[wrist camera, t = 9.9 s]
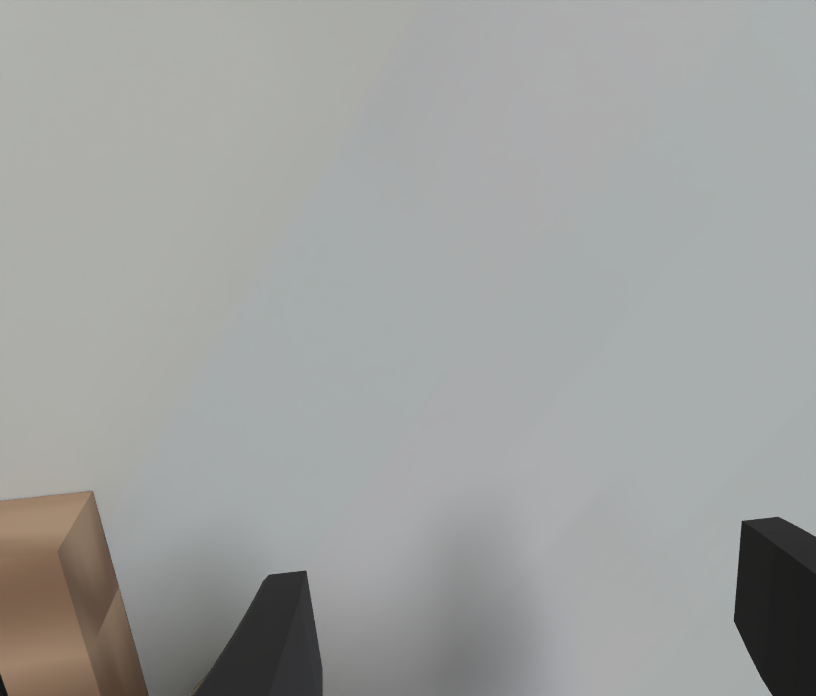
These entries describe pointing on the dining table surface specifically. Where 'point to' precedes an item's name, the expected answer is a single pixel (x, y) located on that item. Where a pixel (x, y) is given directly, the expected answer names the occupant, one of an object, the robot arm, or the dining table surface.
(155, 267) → the dining table surface
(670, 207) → the dining table surface
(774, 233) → the dining table surface
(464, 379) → the dining table surface
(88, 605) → the collar block
